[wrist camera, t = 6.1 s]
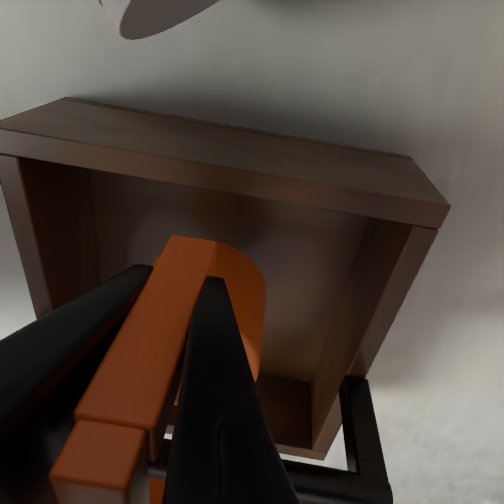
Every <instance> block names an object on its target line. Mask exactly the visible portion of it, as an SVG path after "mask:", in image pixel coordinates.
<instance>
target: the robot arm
mask: <svg viewBox="0 0 504 504" xmlns="http://www.w3.org/2000/svg"><path fill="white" fill-rule="evenodd" d="M153 268H154V267H153V266H150V265H144V264H135V265H133V266H131V267H129V268H128V269H126V270H124V271H122V272H121V273H119V274H117V275H115V276H114V277H112V278H110V279H108V280H106V281H105V282H103V283H101V284H99V285H98V286H96V287H94V288H92V289H91V290H89V291H87V292H85V293H83V294H82V295H80V296H78V297H76V298H75V299H73V300H71V301H69V302H68V303H66V304H64V305H62V306H60V307H59V308H57V309H55V310H53V311H52V312H50V313H48V314H46V315H45V316H43V317H41V318H39V319H37V320H36V321H34V322H32V323H30V324H29V325H27V326H25V327H23V328H22V329H20V330H18V331H16V332H14V333H13V334H11V335H9V336H7V337H6V338H4V339H2V340H0V504H58V503H57V501H56V498H55V495H54V493H53V490H52V487H51V485H50V482H49V479H48V476H49V472H50V470H51V468H52V466H53V464H54V462H55V461H56V459H57V457H58V455H59V453H60V451H61V449H62V447H63V446H64V444H65V442H66V440H67V438H68V436H69V434H70V432H71V431H72V429H73V427H74V425H75V421H74V417H73V414H74V411H75V409H76V407H77V405H78V403H79V402H80V400H81V398H82V396H83V394H84V393H85V391H86V389H87V387H88V385H89V384H90V382H91V380H92V378H93V376H94V374H95V373H96V371H97V369H98V367H99V365H100V364H101V362H102V360H103V358H104V356H105V355H106V353H107V351H108V349H109V347H110V346H111V344H112V342H113V340H114V338H115V337H116V335H117V333H118V331H119V329H120V328H121V326H122V324H123V322H124V320H125V319H126V317H127V315H128V313H129V311H130V310H131V308H132V306H133V304H134V302H135V301H136V299H137V297H138V295H139V293H140V292H141V290H142V288H143V286H144V284H145V283H146V281H147V279H148V277H149V275H150V274H151V272H152V270H153ZM162 504H300V501H299V499H298V497H297V495H296V492H295V490H294V488H293V485H292V483H291V481H290V479H289V476H288V474H287V472H286V470H285V467H284V465H283V462H282V460H281V458H280V455H279V453H278V450H277V448H276V445H275V443H274V440H273V438H272V435H271V432H270V429H269V426H268V423H267V420H266V417H265V414H264V411H263V407H262V404H261V401H260V397H259V395H258V394H257V388H256V385H255V381H254V378H253V374H252V371H251V368H250V364H249V361H248V357H247V354H246V351H245V347H244V344H243V341H242V337H241V334H240V330H239V327H238V324H237V320H236V317H235V313H234V310H233V307H232V303H231V300H230V297H229V293H228V290H227V286H226V283H225V280H224V279H223V278H221V277H215V276H207V277H206V278H205V280H204V283H203V285H202V287H201V290H200V292H199V295H198V297H197V300H196V302H195V305H194V307H193V310H192V315H191V321H190V327H189V333H188V340H187V346H186V352H185V359H184V365H183V371H182V378H181V384H180V390H179V397H178V403H177V409H176V416H175V422H174V429H173V435H172V441H171V448H170V454H169V460H168V467H167V473H166V479H165V486H164V492H163V498H162Z"/></svg>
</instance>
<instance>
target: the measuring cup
mask: <svg viewBox="0 0 504 504" xmlns="http://www.w3.org/2000/svg"><path fill="white" fill-rule="evenodd" d="M151 266H153V267H154V268H153V270H152V272H151V274H150V275H149V277H148V279H147V281H146V283H145V284H144V286H143V288H142V290H141V292H140V293H139V295H138V297H137V299H136V301H135V302H134V304H133V306H132V308H131V310H130V311H129V313H128V315H127V317H126V319H125V320H124V322H123V324H122V326H121V328H120V329H119V331H118V333H117V335H116V337H115V338H114V340H113V342H112V344H111V346H110V347H109V349H108V351H107V353H106V355H105V356H104V358H103V360H102V362H101V364H100V365H99V367H98V369H97V371H96V373H95V374H94V376H93V378H92V380H91V382H90V384H89V385H88V387H87V389H86V391H85V393H84V394H83V396H82V398H81V400H80V402H79V403H78V405H77V407H76V409H75V411H74V414H73V417H74V421H75V425H74V427H73V429H72V431H71V432H70V434H69V436H68V438H67V440H66V442H65V444H64V446H63V447H62V449H61V451H60V453H59V455H58V457H57V459H56V461H55V462H54V464H53V466H52V468H51V470H50V472H49V476H48V479H49V482H50V485H51V487H52V490H53V493H54V495H55V498H56V501H57V503H58V504H162V498H163V492H164V486H165V480H161V479H156V478H150V477H148V461H155V460H156V458H157V457H158V455H159V452H160V448H161V445H162V442H163V438H164V435H165V432H166V429H167V425H168V422H169V419H170V416H171V412H172V409H173V406H174V405H177V403H178V397H179V390H180V384H181V378H182V371H183V365H184V359H185V352H186V346H187V340H188V333H189V327H190V321H191V315H192V310H193V307H194V305H195V302H196V300H197V297H198V295H199V292H200V290H201V287H202V285H203V283H204V280H205V278H206V277H207V276H215V277H221V278H223V279H224V280H225V283H226V286H227V290H228V293H229V297H230V300H231V303H232V307H233V310H234V313H235V317H236V320H237V324H238V327H239V330H240V334H241V337H242V341H243V344H244V347H245V351H246V354H247V357H248V361H249V364H250V368H251V371H252V374H253V378H254V381H255V382H256V380H257V377H258V374H259V367H260V357H261V347H262V336H263V326H264V316H265V305H266V295H267V293H266V285H265V281H264V278H263V276H262V274H261V272H260V270H259V269H258V267H257V266H256V265H255V263H254V262H253V261H252V260H251V259H250V258H249V257H248V256H246V255H245V254H244V253H243V252H241V251H239V250H238V249H236V248H234V247H232V246H230V245H228V244H225V243H222V242H219V241H214V240H208V239H198V238H192V237H186V236H180V235H172V236H171V238H170V239H169V241H168V243H167V245H166V247H165V248H164V250H163V251H162V252H160V253H159V254H158V255H157V257H156V258H155V259H154V261H153V262H152V264H151Z"/></svg>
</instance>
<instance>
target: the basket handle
mask: <svg viewBox="0 0 504 504" xmlns="http://www.w3.org/2000/svg"><path fill="white" fill-rule="evenodd" d="M338 391H339V400H340V408H341V417H342V425H343V434H344V442H345V450H346V459H347V467H348V471H346V470H341V469H335V468H329V467H324V466H318V465H312V464H306V463H301V462H295V461H289V460H284V459H281V460H282V462H283V465H284V467H285V470H286V472H287V474H288V476H289V479H290V481H291V483H292V485H293V488H294V490H295V492H296V495H297V497H298V499H299V501H300V504H393V495H392V490H391V486H390V483H389V482H388V477H387V472H386V467H385V462H384V457H383V452H382V447H381V443H380V438H379V433H378V428H377V423H376V418H375V413H374V408H373V403H372V398H371V393H370V388H369V383H368V380H367V379H364V378H358V377H352V376H347V375H346V376H344V378H343V380H342V382H341V385H340V387H339V389H338ZM171 441H172V440H170V439H164V438H163V442H162V445H161V448H160V452H159V455H158V457H157V458H156V460H155V461H148V477H150V478H156V479H161V480H165V479H166V473H167V467H168V460H169V454H170V448H171Z"/></svg>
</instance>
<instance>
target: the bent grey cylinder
mask: <svg viewBox="0 0 504 504" xmlns="http://www.w3.org/2000/svg"><path fill="white" fill-rule="evenodd" d="M218 1H220V0H98V2H99V3H100V5H101V6H102V7H103V8H104V11H105V12H106V14H107V15H108V17H109V18H110V20H111V21H112V23H113V24H114V26H115V28H116V29H117V31H118V32H119V34H120V35H121V36H122V37H124V38H125V39H130V40H135V39H142V38H145V37H149V36H152V35H155V34H158V33H160V32H162V31H165V30H167V29H169V28H171V27H173V26H175V25H177V24H179V23H182V22H183V21H185V20H187V19H189V18H191V17H193V16H194V15H196V14H198V13H200V12H201V11H203V10H205V9H207V8H208V7H210V6H211V5H213V4H215V3H216V2H218Z"/></svg>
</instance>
